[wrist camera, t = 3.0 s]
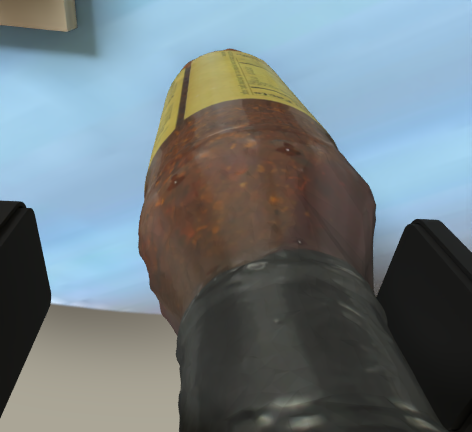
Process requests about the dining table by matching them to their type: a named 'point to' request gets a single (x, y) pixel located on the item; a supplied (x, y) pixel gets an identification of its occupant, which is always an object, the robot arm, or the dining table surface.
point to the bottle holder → (39, 14)
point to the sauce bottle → (268, 263)
